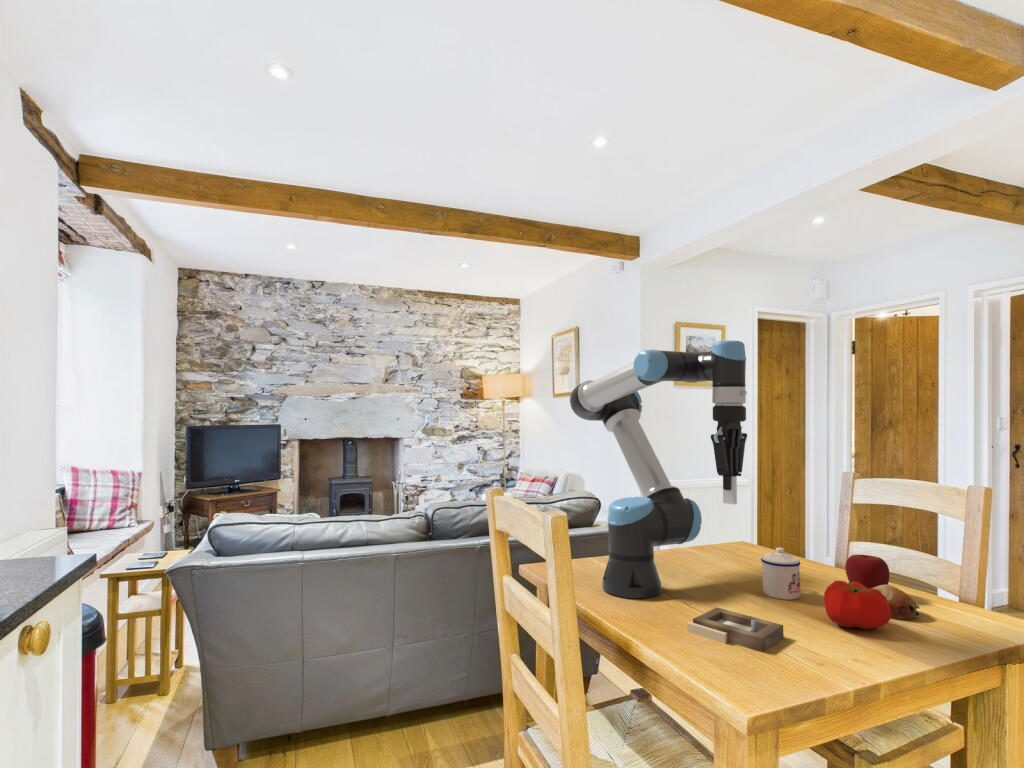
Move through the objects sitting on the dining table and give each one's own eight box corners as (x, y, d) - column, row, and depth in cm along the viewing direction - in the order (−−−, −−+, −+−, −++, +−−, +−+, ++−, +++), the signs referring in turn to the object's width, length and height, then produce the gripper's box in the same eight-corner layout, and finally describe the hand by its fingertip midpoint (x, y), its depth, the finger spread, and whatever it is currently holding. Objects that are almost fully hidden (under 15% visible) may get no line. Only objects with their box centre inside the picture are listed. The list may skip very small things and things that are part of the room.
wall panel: (661, 634, 116) (661, 609, 117) (701, 615, 127) (700, 593, 127) (768, 669, 100) (767, 641, 100) (803, 644, 111) (802, 619, 111)
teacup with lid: (796, 603, 135) (795, 554, 136) (757, 595, 141) (755, 548, 142) (808, 591, 144) (806, 545, 145) (770, 584, 150) (769, 540, 151)
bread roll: (889, 620, 134) (873, 586, 137) (932, 614, 126) (914, 577, 129) (865, 628, 129) (849, 592, 132) (908, 622, 121) (890, 583, 124)
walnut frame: (693, 630, 114) (692, 618, 114) (717, 618, 121) (716, 607, 121) (761, 651, 104) (761, 638, 104) (783, 637, 111) (783, 625, 111)
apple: (866, 587, 148) (865, 548, 148) (900, 598, 138) (898, 557, 139) (837, 590, 145) (836, 551, 146) (869, 602, 136) (868, 560, 136)
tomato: (887, 643, 111) (885, 599, 112) (817, 628, 119) (815, 586, 120) (896, 624, 122) (894, 583, 122) (831, 610, 130) (829, 572, 130)
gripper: (729, 405, 127) (730, 508, 127) (757, 405, 136) (758, 502, 135) (700, 404, 133) (700, 504, 132) (728, 404, 142) (729, 498, 141)
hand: (729, 503), depth 134 cm, fingers closed
